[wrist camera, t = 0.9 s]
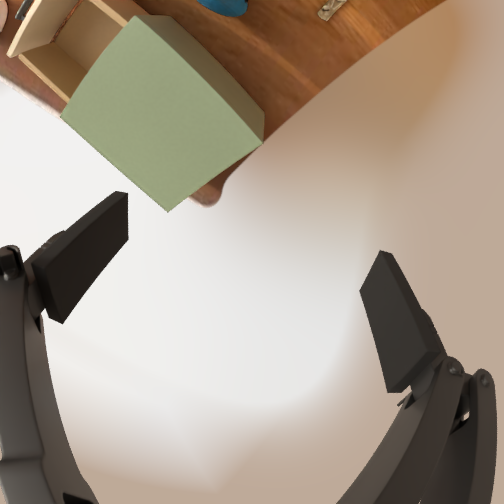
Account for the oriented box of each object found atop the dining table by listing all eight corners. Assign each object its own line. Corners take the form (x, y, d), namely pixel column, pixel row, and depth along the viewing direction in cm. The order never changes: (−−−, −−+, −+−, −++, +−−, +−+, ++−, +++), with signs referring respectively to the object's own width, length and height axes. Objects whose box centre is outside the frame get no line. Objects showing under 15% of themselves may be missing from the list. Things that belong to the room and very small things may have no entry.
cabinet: (101, 91, 30) (59, 116, 23) (170, 15, 23) (134, 14, 16) (187, 171, 40) (167, 212, 33) (265, 113, 33) (263, 143, 26)
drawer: (30, 27, 19) (-9, 39, 13) (80, -44, 12) (42, -47, 6) (115, 103, 31) (83, 126, 25) (181, 34, 24) (156, 38, 19)
